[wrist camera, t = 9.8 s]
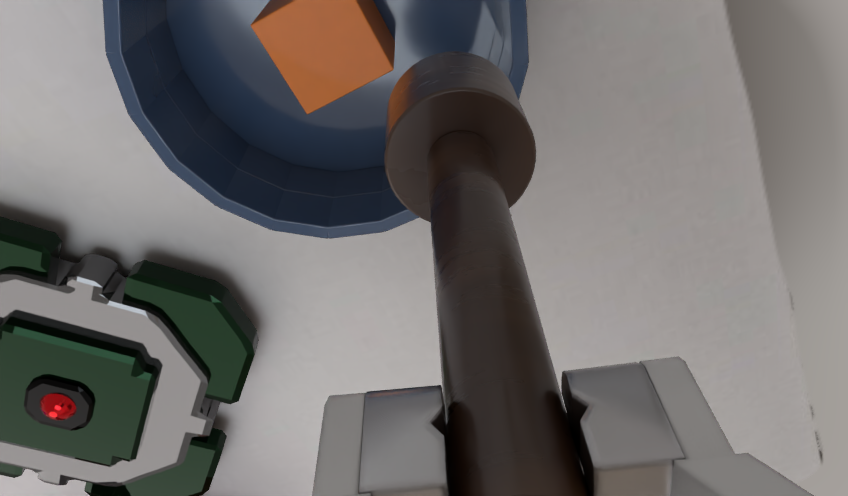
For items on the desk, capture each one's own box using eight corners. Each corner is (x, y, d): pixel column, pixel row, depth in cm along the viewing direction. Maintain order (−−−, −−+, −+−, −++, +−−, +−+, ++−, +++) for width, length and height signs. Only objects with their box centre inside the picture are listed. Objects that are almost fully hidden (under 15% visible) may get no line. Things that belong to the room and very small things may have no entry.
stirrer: (514, 41, 17) (815, 611, 5) (521, 167, 19) (749, 817, 7) (376, 60, 18) (307, 660, 5) (397, 183, 20) (386, 847, 7)
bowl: (494, -214, 25) (516, -225, 20) (515, 155, 33) (535, 214, 28) (101, -155, 26) (28, -151, 21) (214, 193, 34) (181, 257, 29)
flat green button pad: (207, 487, 46) (189, 549, 42) (-82, 421, 42) (-132, 482, 38) (278, 284, 37) (263, 337, 33) (-78, 177, 33) (-142, 223, 29)
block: (349, -45, 28) (341, -27, 24) (395, 42, 30) (394, 69, 26) (267, 1, 29) (249, 25, 25) (317, 83, 31) (307, 115, 27)
